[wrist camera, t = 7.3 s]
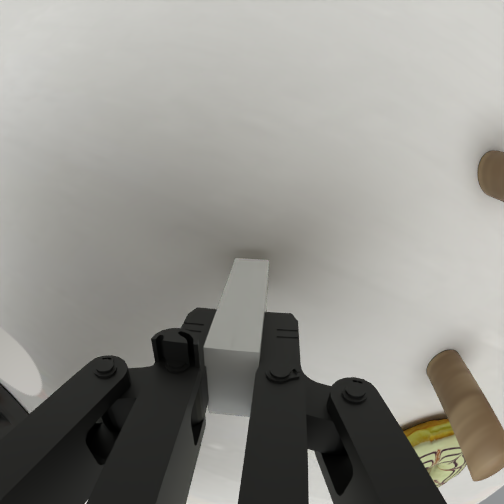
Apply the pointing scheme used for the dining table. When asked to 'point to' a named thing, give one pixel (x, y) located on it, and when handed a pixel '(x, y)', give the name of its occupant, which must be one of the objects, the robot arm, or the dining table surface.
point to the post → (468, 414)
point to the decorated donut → (437, 449)
